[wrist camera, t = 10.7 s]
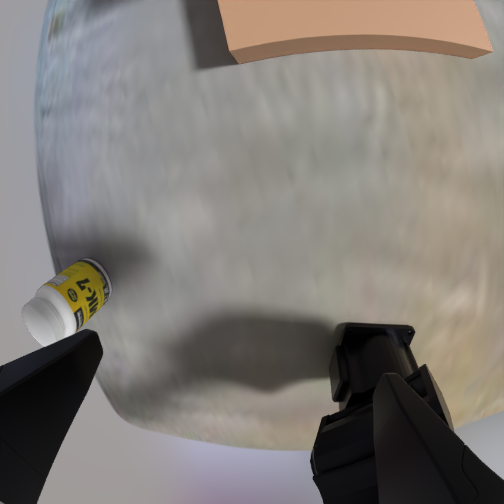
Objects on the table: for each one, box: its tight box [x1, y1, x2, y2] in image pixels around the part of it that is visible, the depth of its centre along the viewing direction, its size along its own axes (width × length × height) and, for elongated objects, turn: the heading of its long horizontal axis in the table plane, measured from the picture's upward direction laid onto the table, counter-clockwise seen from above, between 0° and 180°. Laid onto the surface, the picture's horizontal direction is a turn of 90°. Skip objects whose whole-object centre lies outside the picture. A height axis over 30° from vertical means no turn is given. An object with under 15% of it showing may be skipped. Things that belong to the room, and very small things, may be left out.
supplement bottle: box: [22, 259, 112, 347], centre depth 20 cm, size 5×5×8 cm
